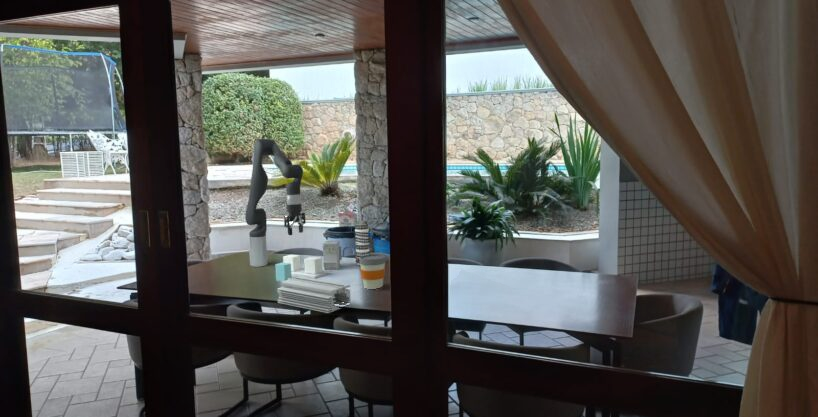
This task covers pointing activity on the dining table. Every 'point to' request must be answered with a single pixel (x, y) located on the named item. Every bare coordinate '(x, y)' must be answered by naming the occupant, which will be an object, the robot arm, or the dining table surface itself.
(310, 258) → the rail panel
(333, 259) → the circuit breaker
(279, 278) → the block
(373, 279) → the reusable coffee cup
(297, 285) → the aluminum extrusion profile
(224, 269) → the dining table surface
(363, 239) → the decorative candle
